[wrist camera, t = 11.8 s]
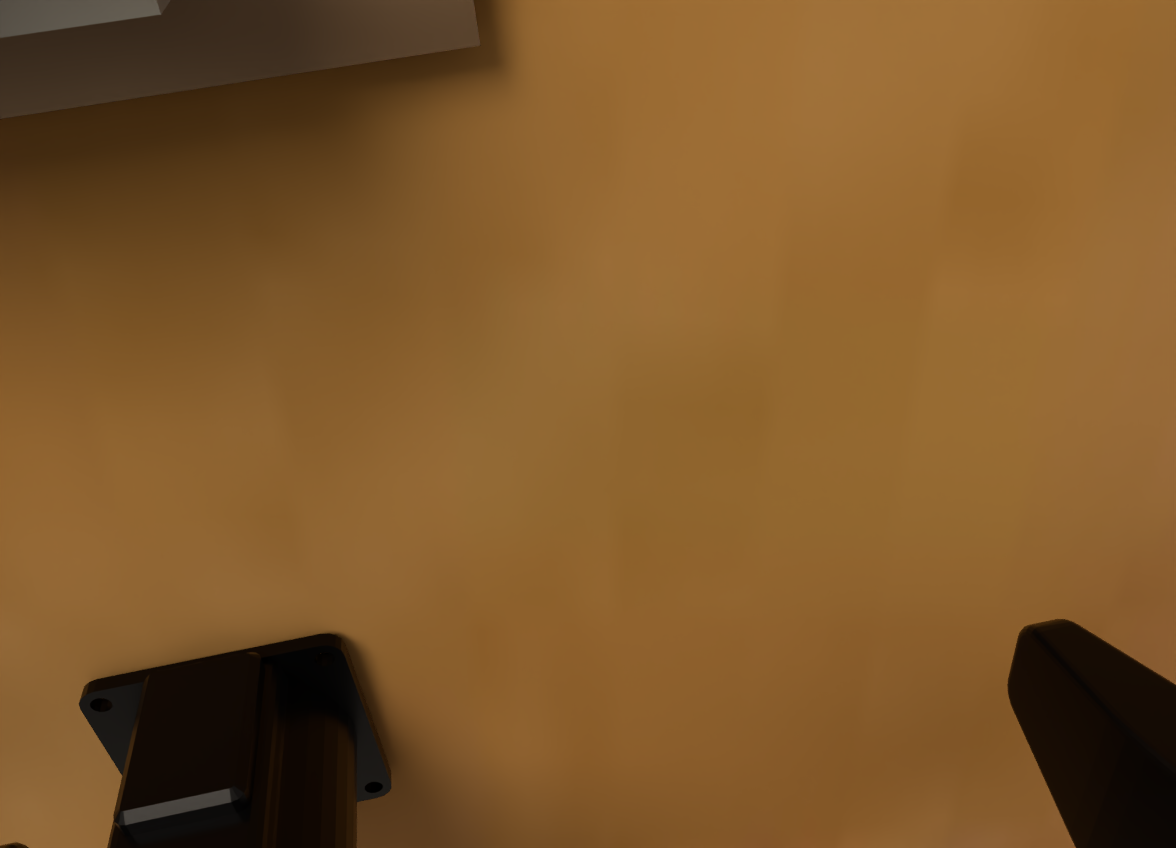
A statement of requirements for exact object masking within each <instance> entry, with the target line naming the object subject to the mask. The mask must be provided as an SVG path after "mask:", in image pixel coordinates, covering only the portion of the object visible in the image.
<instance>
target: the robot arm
mask: <svg viewBox="0 0 1176 848" xmlns="http://www.w3.org/2000/svg"><path fill="white" fill-rule="evenodd" d="M322 652H328V653H329V654H320V653H322ZM1008 695H1009V699H1010V703H1011V706H1012V708H1013V711H1014V713H1015V715H1016V717H1017V719H1018V722H1019V724H1020V726H1021V728H1022V730H1023V733H1024V735H1025V737H1026V739H1027V742H1028V744H1029V746H1030V748H1031V750H1032V753H1033V755H1034V757H1035V759H1036V761H1037V764H1038V766H1039V768H1040V770H1041V773H1042V775H1043V777H1044V779H1045V781H1046V784H1047V786H1048V788H1049V790H1050V792H1051V795H1052V797H1053V799H1054V801H1055V804H1056V806H1057V808H1058V810H1059V812H1060V815H1061V817H1062V819H1063V821H1064V823H1065V826H1066V828H1067V830H1068V832H1069V835H1070V837H1071V839H1072V841H1073V843H1074V845H1075V847H1076V848H1176V685H1175V684H1174V683H1172V682H1170V681H1169V680H1167V679H1166V678H1164V677H1162V676H1161V675H1159V674H1157V673H1156V672H1154V671H1153V670H1151V669H1149V668H1148V667H1146V666H1144V665H1143V664H1141V663H1140V662H1138V661H1136V660H1135V659H1133V658H1132V657H1130V656H1128V655H1127V654H1125V653H1123V652H1122V651H1120V650H1119V649H1117V648H1115V647H1114V646H1112V645H1110V644H1109V643H1107V642H1106V641H1104V640H1102V639H1101V638H1099V637H1097V636H1096V635H1094V634H1093V633H1091V632H1089V631H1088V630H1086V629H1084V628H1083V627H1081V626H1080V625H1078V624H1076V623H1074V622H1072V621H1069V620H1066V619H1055V620H1050V621H1046V622H1041V623H1036V624H1032V625H1028V626H1025V627H1024V628H1023V629H1022V630H1021V631H1020V633H1019V636H1018V639H1017V644H1016V648H1015V652H1014V656H1013V661H1012V665H1011V669H1010V673H1009V678H1008ZM100 698H104V699H100ZM79 706H80V709H81V711H82V713H83V714H84V716H85V717H86V719H87V720H88V722H89V724H90V725H91V727H92V728H93V730H94V732H95V733H96V735H97V736H98V738H99V740H100V741H101V743H102V744H103V746H104V747H105V749H106V751H107V752H108V754H109V755H110V757H111V759H112V760H113V762H114V763H115V765H116V767H117V768H118V770H119V771H120V773H121V774H122V780H121V784H120V789H119V793H118V798H117V802H116V806H115V811H114V815H113V816H114V820H113V825H112V829H111V834H110V838H109V843H108V847H107V848H356V841H357V802H360V801H364V800H369V799H374V798H378V797H381V796H384V795H385V794H387V793H388V792H389V791H390V789H391V770H390V768H389V765H388V762H387V759H386V756H385V754H384V751H383V748H382V745H381V743H380V740H379V737H378V734H377V731H376V729H375V726H374V723H373V720H372V718H371V715H370V712H369V709H368V706H367V704H366V701H365V698H364V695H363V693H362V690H361V687H360V684H359V681H358V679H357V676H356V673H355V670H354V667H353V665H352V662H351V659H350V656H349V654H348V651H347V648H346V645H345V643H344V641H343V640H342V639H341V638H340V637H338V636H336V635H332V634H318V635H313V636H308V637H304V638H299V639H294V640H289V641H284V642H279V643H274V644H269V645H264V646H259V647H254V648H249V649H244V650H239V651H234V652H229V653H225V654H220V655H215V656H210V657H205V658H200V659H195V660H190V661H185V662H180V663H175V664H170V665H165V666H160V667H155V668H151V669H146V670H141V671H136V672H131V673H126V674H121V675H116V676H111V677H106V678H101V679H97V680H94V681H91V682H89V683H88V684H87V685H85V686H84V689H83V692H82V695H81V699H80V702H79ZM0 848H28V847H27V846H25V845H23V844H20V843H10V844H6V845H1V846H0Z"/></svg>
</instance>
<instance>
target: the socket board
mask: <svg viewBox="0 0 1176 848" xmlns="http://www.w3.org/2000/svg"><path fill="white" fill-rule="evenodd" d="M475 46H481V45H480V39H479V33H478V26H477V20H476V14H475V7H474V1H473V0H0V119H3V118H10V117H16V116H23V115H30V114H36V113H43V112H49V111H56V110H62V109H69V108H75V107H82V106H89V105H95V104H102V103H108V102H115V101H121V100H128V99H134V98H141V97H147V96H154V95H161V94H167V93H174V92H180V91H187V90H193V89H200V88H206V87H213V86H219V85H226V84H233V83H239V82H246V81H252V80H259V79H265V78H272V77H278V76H285V75H291V74H298V73H305V72H311V71H318V70H324V69H331V68H337V67H344V66H350V65H357V64H363V63H370V62H377V61H383V60H390V59H396V58H403V57H409V56H416V55H422V54H429V53H436V52H442V51H449V50H455V49H462V48H468V47H475Z"/></svg>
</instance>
